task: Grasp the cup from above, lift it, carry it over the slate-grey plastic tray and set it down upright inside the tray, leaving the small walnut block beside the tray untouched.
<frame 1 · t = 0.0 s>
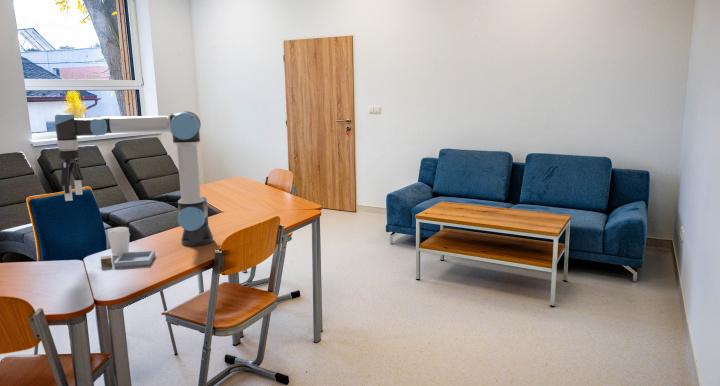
hand: (74, 197, 221), 28 cm above the table, fingers open, 13 cm apart
tray: (135, 261, 220), on the table
walnut block: (106, 266, 215), on the table
cup: (120, 254, 231), on the table
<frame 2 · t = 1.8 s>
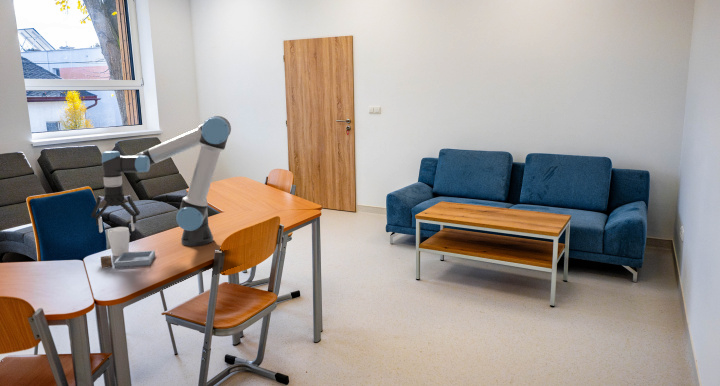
hand: (117, 231, 229), 11 cm above the table, fingers open, 13 cm apart
nothing on the table moved.
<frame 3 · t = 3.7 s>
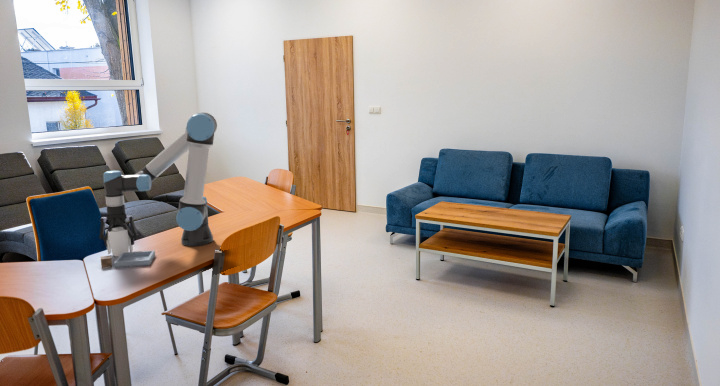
hand: (120, 252, 231), 1 cm above the table, fingers closed on cup, 9 cm apart
cup: (120, 254, 231), on the table, touching gripper
everything else where it was.
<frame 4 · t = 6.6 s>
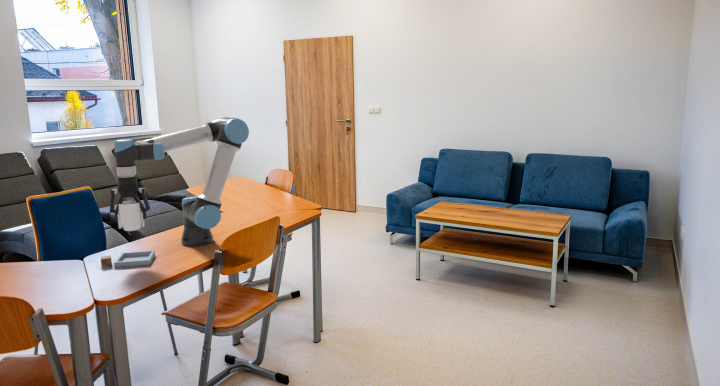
hand: (131, 227, 217), 16 cm above the table, fingers closed on cup, 9 cm apart
cup: (132, 229, 218), point 15 cm above the table, touching gripper
everything else where it was.
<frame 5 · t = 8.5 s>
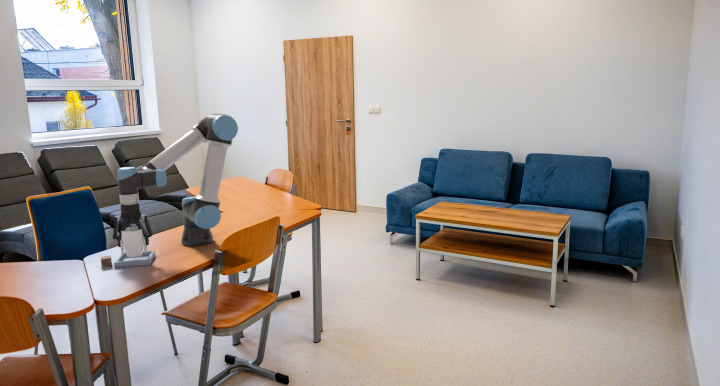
hand: (134, 253, 220), 4 cm above the table, fingers closed on cup, 9 cm apart
cup: (134, 255, 220), point 3 cm above the table, touching gripper
everything else where it was.
when the fingers open (3 cm above the table, at t = 9.6 s): cup drops 2 cm, resting on tray.
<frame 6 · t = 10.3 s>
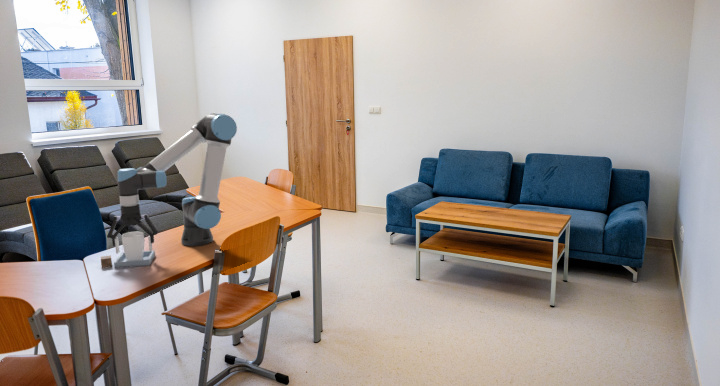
hand: (134, 251, 219), 5 cm above the table, fingers open, 13 cm apart
cup: (135, 260, 220), resting on tray
everything else where it was.
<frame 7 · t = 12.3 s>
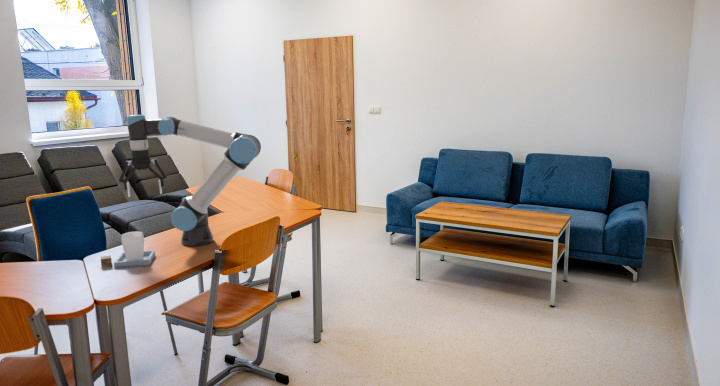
hand: (145, 195, 230), 27 cm above the table, fingers open, 13 cm apart
nothing on the table moved.
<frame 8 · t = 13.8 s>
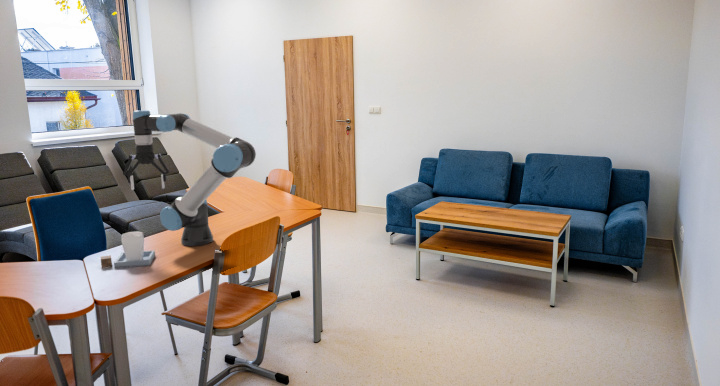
hand: (148, 189, 236), 29 cm above the table, fingers open, 13 cm apart
nothing on the table moved.
at the end: cup inside the target area on the tray (0.3 cm from its centre), point 0.4 cm above the tray's base; cup tilted 0°; cup touching tray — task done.
